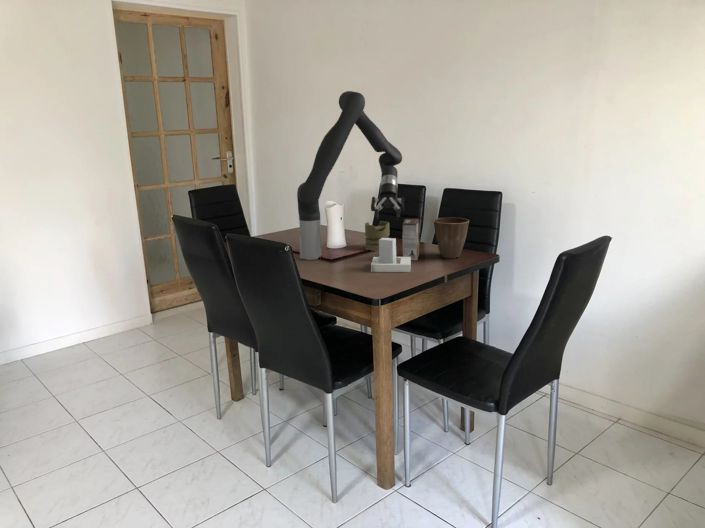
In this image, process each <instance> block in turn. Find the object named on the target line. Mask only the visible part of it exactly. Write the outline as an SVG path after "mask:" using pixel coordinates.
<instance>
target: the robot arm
mask: <svg viewBox="0 0 705 528" xmlns="http://www.w3.org/2000/svg"><path fill="white" fill-rule="evenodd" d="M338 106H339V108H340V110H341V113H340V115H339V117H338V119H337V120H336V122H335V123H334V125H333V126H332V127H331V128H330V129H329V130H328V131H327V133H326V134H325V135H324V137H323V138H322V140H321V142H320V145H319V146H318V149H317V151H316V154H315V157H314V161H313V164H312V168H311V171H310V172H309V175H308V176H307V178H306V180H305V182H302V183H301V184H300V185H299V186H298V188H297V191H296V192H297V193H296V195H297V196H296V197H297V211H298V221H299V223H298V224H299V238H298V242H299V259H300V260H305V259H306V260H308V261H312V260H313V261H314V260H319V259H318V258H319V256H321V255H322V256H323V250H322V249H323V247H322V246H323V244H322V228H321V227H322V226H321V223H322V222H321V210H320V203H319V202H320V201H319V199H320V197H321V194H322V192H323V189H324V186H325V183H326V181H327V179H328V177H329V175H330V173H331V172H332V170H333V169H334V166H335V164H336V163H337V161H338V159H339V157H340V155H341V153H342V151H343V149H344V146H345V145H346V142H347V140H348V138H349V136H350V134H351V131H352V129H353V128H354V126H355V125H356V126H357V128H358V129H359V130H360V131H361V133H362V135H363V136H364V138H365V139H366V140H367V141H368V143H369V144H370V146H371V148H372V149H373V150H374V151H375V152H376V153H381V154H380V156H379V157H378V164H379V168H380V170H381V171H380V172H381V177H380V178H381V179H380V186H379V197H376V196H372V197H371V204H370V210H371V212H374V218H375V220H379V211H381V210H382V209H387V208H389V209H392V208H393V209H394V210H395V211H396V215H395V216H396V220H399V219H400V218H401V212H405V197H404V196H401V197H399V198H398V188H399V187H398V186H399V185H398V183H399V182H398V169H397V168H396V167H395V166H397V165H399V164H401V163H402V161H403V155H402V152H401V151H400V150H399V149H398V148H397V147H396V146H395V145H393V144H392V143H391V142H390V141H389V140H388V139H387V138H386V136H385V135H384V134H383V132H382V130H381V129H380V128H379V127H378V126H377V125H376V124H375V122H373V121H372V119H370V118H369V116H368V115H367V114H366V113H365V111H364V110H365V106H366V99H365V96H364V95H363V94H362V93H360V92H358V91H352V90H351V91H350V90H348V91H344V92H342V93H341V94H340V96H339V98H338ZM376 203H378V204H377V205H376ZM398 203H400V204H401V207H400V206H399V205H398Z"/></svg>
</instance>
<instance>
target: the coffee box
mask: <svg viewBox="0 0 705 528" xmlns="http://www.w3.org/2000/svg"><path fill="white" fill-rule="evenodd" d="M401 227H402V228H401V229H402V233H401V234H402V257H411V261H418V258H419V257H420V256H419V255H420V219H419V218H405V219H403V222H402V226H401Z"/></svg>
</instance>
